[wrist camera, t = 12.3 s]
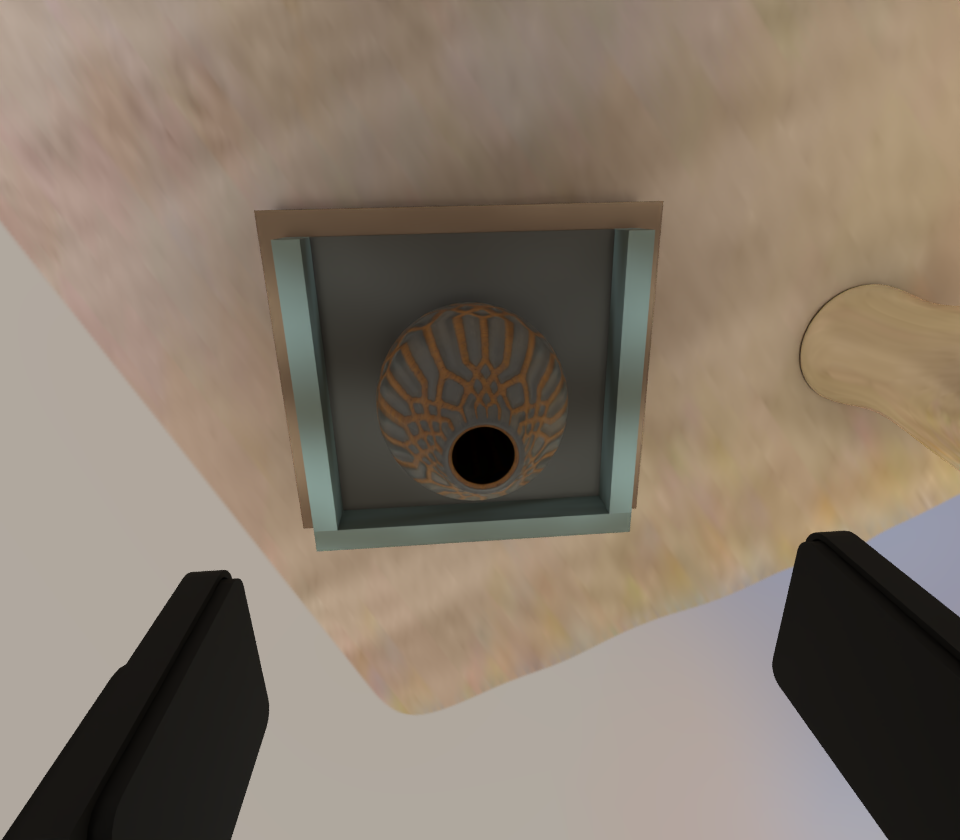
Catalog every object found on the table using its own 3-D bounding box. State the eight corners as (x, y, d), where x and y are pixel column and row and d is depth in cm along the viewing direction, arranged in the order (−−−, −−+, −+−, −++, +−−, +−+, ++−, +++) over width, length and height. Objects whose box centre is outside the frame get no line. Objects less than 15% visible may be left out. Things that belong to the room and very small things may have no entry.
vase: (533, 452, 25) (580, 567, 17) (380, 440, 25) (354, 555, 16) (558, 300, 23) (627, 349, 15) (389, 281, 22) (365, 323, 14)
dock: (275, 210, 24) (236, 210, 19) (637, 202, 25) (684, 200, 20) (316, 497, 29) (293, 552, 24) (617, 480, 30) (651, 530, 25)
